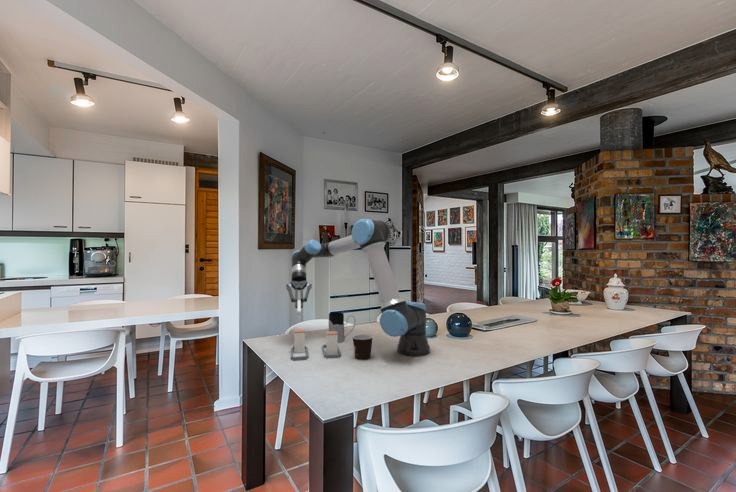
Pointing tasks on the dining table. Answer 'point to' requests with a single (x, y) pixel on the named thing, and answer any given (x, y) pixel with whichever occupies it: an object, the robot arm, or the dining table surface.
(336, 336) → the tab
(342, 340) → the grey pitcher
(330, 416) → the dining table surface
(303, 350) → the tab
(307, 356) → the grey double base frame
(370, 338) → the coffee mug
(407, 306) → the robot arm
